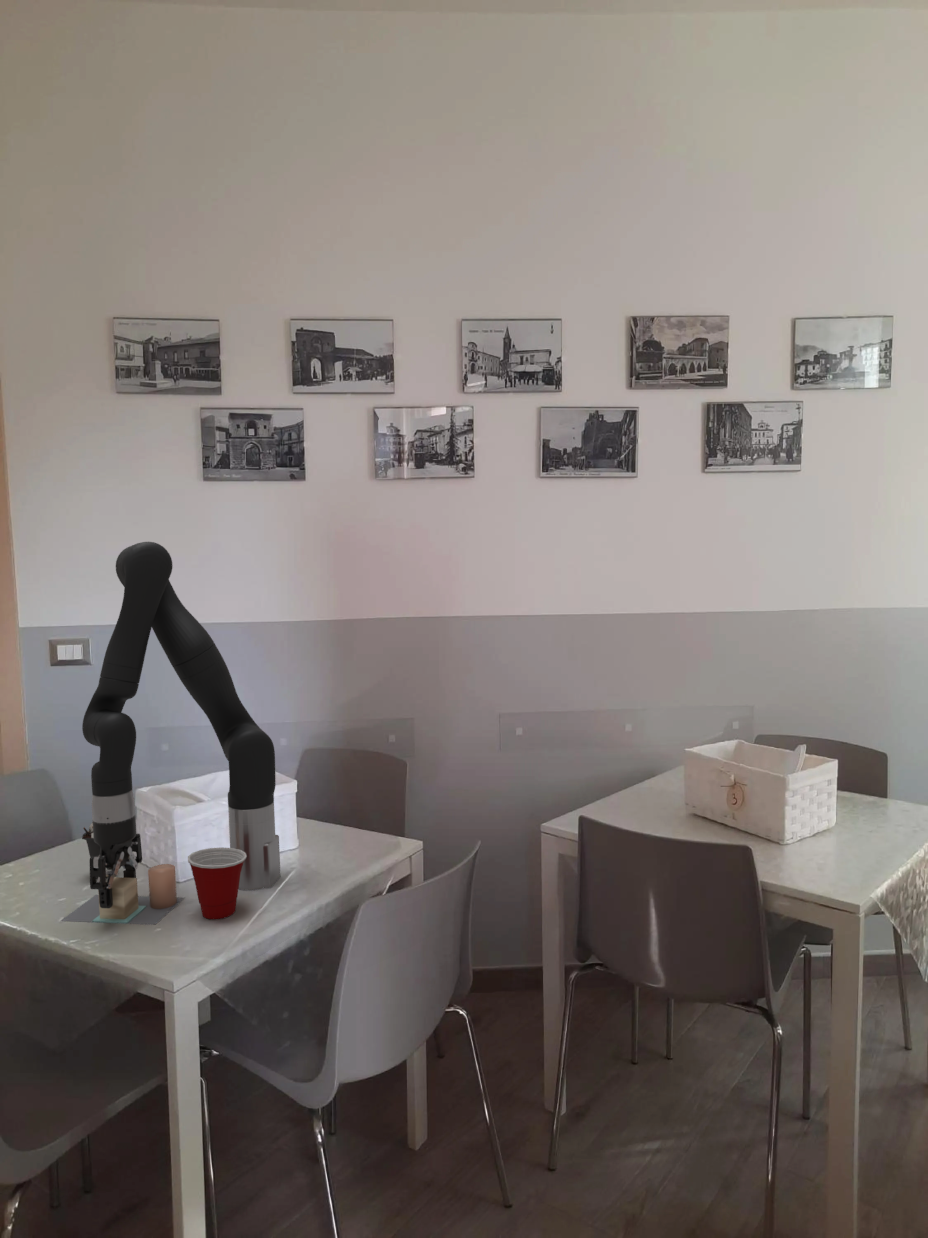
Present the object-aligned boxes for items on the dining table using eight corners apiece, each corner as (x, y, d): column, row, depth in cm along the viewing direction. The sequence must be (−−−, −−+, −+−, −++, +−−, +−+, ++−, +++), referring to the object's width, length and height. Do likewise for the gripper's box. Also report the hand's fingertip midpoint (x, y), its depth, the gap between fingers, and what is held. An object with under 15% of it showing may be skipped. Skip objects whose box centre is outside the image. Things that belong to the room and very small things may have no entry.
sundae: (125, 873, 182) (121, 806, 181) (108, 886, 175) (104, 816, 174) (96, 873, 183) (91, 806, 181) (79, 885, 176) (74, 815, 175)
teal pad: (146, 907, 163) (146, 906, 163) (127, 923, 156) (127, 922, 156) (112, 906, 164) (112, 904, 164) (92, 922, 157) (92, 920, 157)
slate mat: (185, 900, 167) (184, 897, 167) (155, 927, 155) (155, 924, 155) (96, 897, 170) (96, 894, 170) (60, 924, 158) (60, 921, 158)
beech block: (138, 908, 162) (136, 878, 162) (124, 919, 157) (123, 888, 157) (114, 907, 163) (112, 877, 162) (100, 918, 158) (98, 887, 157)
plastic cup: (256, 919, 158) (253, 857, 157) (197, 933, 153) (194, 869, 152) (241, 899, 167) (238, 840, 166) (185, 911, 162) (182, 851, 161)
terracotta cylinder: (181, 898, 167) (179, 864, 166) (169, 909, 162) (167, 874, 161) (157, 897, 167) (155, 863, 167) (145, 908, 162) (143, 873, 162)
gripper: (112, 828, 151) (117, 915, 152) (151, 803, 165) (155, 883, 166) (73, 827, 152) (78, 913, 153) (115, 803, 166) (120, 882, 167)
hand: (118, 898), depth 160 cm, fingers open, 8 cm apart
